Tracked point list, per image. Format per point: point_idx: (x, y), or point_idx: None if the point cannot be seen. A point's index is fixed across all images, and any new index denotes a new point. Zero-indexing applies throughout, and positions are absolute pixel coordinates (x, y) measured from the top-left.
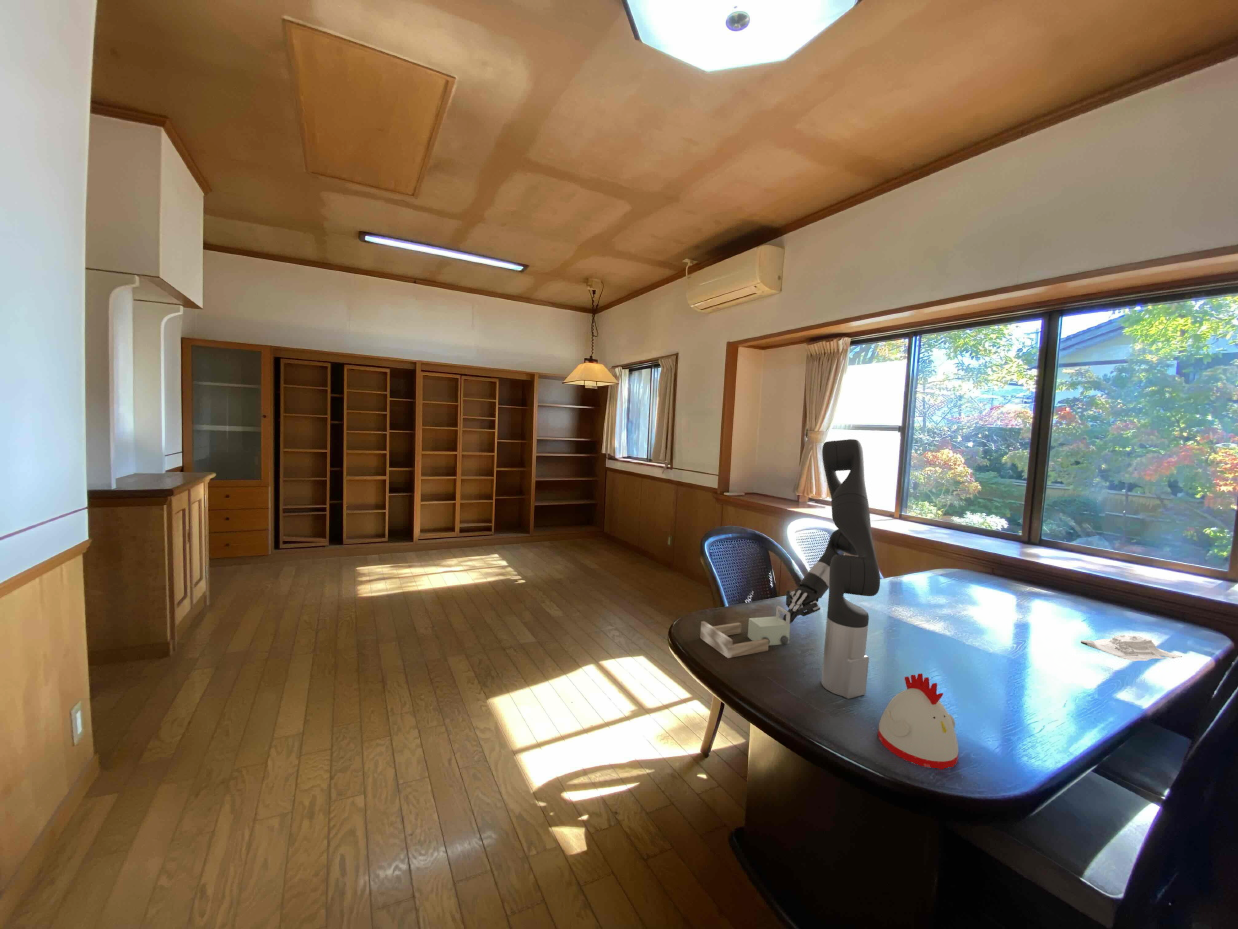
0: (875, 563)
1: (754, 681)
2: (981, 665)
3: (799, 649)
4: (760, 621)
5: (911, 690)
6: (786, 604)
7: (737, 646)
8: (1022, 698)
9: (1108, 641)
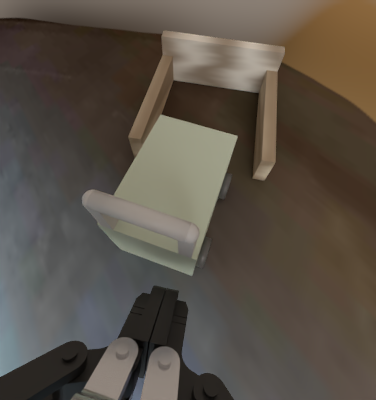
0: None
1: (81, 54)
2: None
3: (73, 242)
4: (193, 145)
5: None
6: (217, 381)
7: (158, 65)
8: None
9: None
